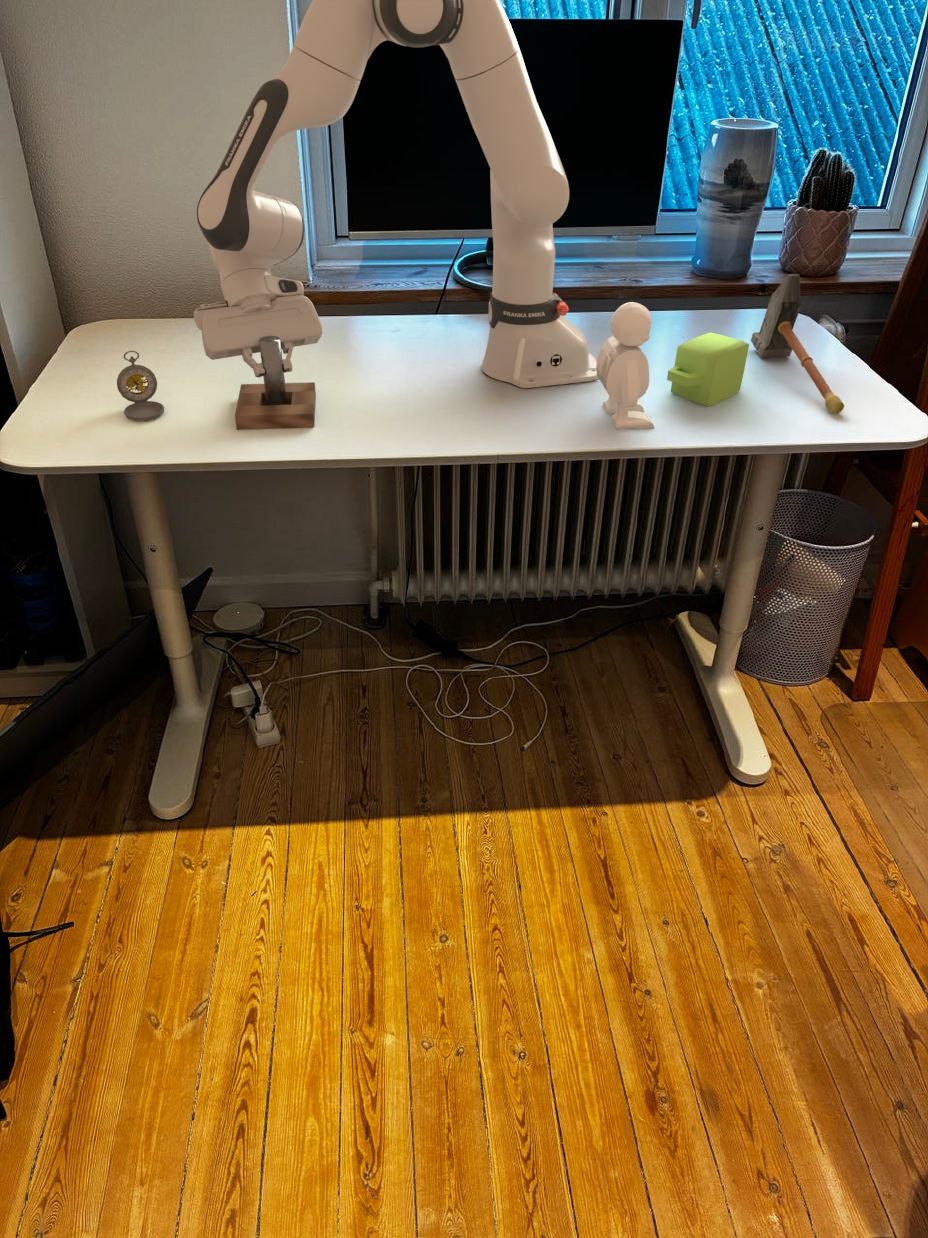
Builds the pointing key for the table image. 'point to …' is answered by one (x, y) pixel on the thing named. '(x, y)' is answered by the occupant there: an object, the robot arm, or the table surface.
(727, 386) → the lime green lipped cube
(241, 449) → the table surface
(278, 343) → the steel pin
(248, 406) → the socket plate
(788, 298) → the hammer
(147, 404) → the pocket watch
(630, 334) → the toy robot
